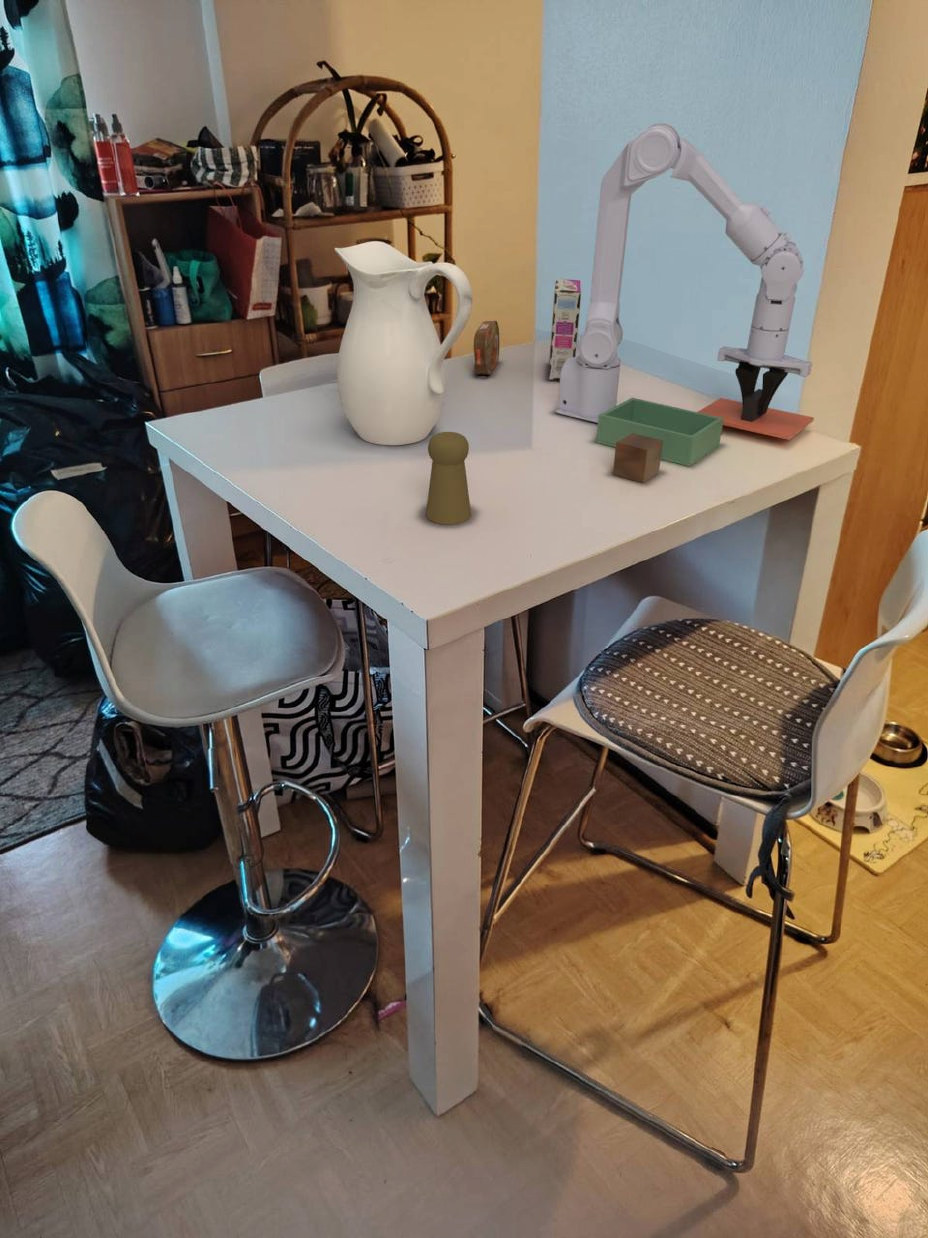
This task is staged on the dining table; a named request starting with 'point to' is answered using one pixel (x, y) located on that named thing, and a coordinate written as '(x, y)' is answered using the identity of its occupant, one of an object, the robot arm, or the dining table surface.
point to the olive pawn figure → (448, 479)
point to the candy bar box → (564, 325)
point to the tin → (486, 347)
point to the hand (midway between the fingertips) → (754, 411)
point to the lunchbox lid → (757, 417)
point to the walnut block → (637, 457)
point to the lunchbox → (662, 429)
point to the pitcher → (394, 344)
